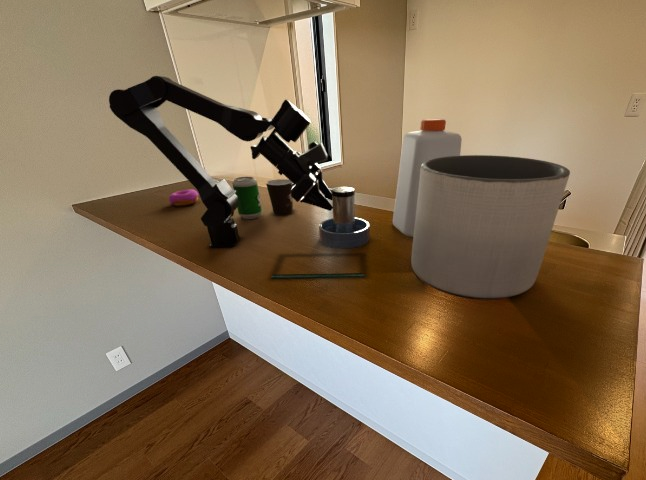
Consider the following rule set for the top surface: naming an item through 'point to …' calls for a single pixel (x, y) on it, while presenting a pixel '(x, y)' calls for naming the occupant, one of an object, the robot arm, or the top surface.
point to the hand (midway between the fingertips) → (332, 203)
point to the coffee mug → (280, 196)
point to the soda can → (247, 197)
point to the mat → (318, 276)
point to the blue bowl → (344, 235)
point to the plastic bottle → (419, 167)
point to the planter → (484, 223)
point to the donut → (184, 197)
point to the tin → (343, 209)
